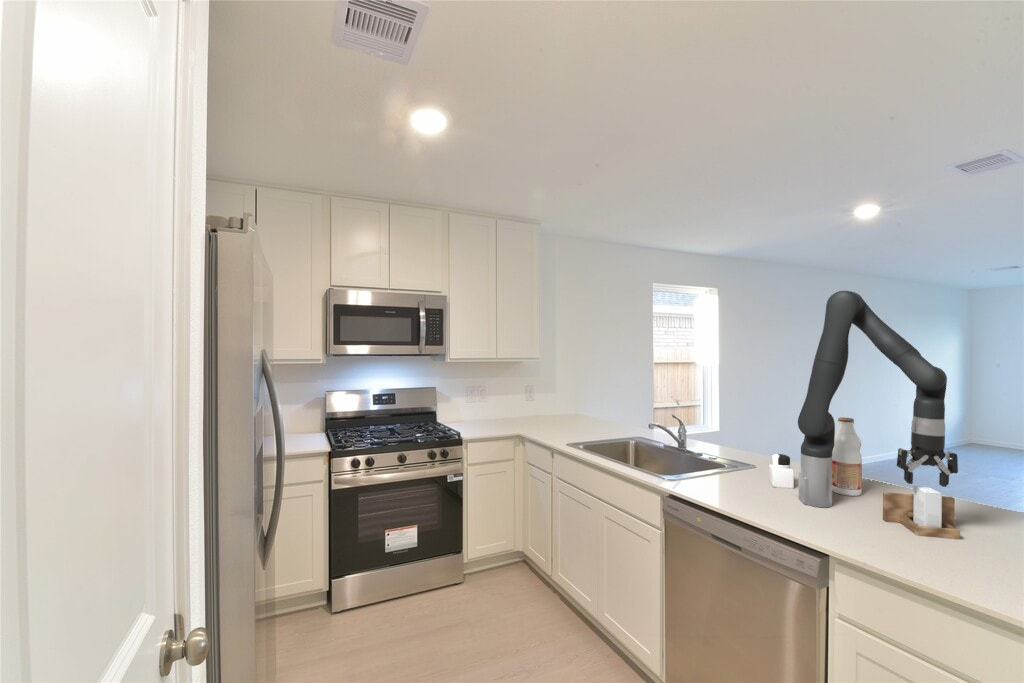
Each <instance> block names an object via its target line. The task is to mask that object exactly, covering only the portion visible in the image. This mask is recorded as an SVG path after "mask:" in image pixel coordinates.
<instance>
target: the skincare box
mask: <svg viewBox="0 0 1024 683" xmlns="http://www.w3.org/2000/svg"><path fill="white" fill-rule="evenodd" d="M913 494H914V517H913V522H915V523H916V524H918V525H919V526H927V527H938V528H942V496H943V494H942V492H939V491H938V490H936V489H933V488H931V487H929V486H918V485H917V486H916V485H914V486H913Z"/></svg>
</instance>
